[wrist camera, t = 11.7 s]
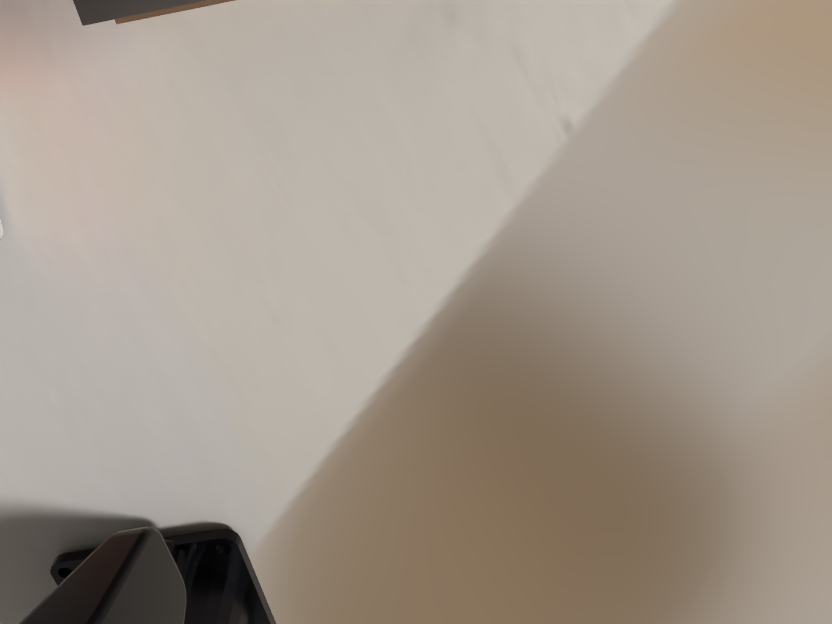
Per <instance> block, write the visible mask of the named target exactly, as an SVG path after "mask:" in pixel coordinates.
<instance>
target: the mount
mask: <svg viewBox="0 0 832 624" xmlns="http://www.w3.org/2000/svg"><path fill="white" fill-rule="evenodd" d="M73 1H74V4H75V6H76V9H77V12H78V14H79V17H80V20H81V22H82V25H88V24H93V23H98V22H103V21H108V20H113V19H115V22H116V24H120V23H125V22H130V21H135V20H140V19H145V18H150V17H155V16H160V15H165V14H170V13H175V12H179V11H184V10H189V9H194V8H199V7H204V6H209V5H214V4H219V3H224V2H229V1H234V0H73Z"/></svg>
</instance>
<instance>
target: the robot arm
mask: <svg viewBox="0 0 832 624" xmlns="http://www.w3.org/2000/svg"><path fill="white" fill-rule="evenodd" d="M223 544H227V545H223ZM50 572H51V575H52V577H53V578H54V580H55V582H56V583H57V585H58V587H56V588H55V589H54V590H53V591H52V592H51V593H50V594H49V595H48V596H47V597H46V598H45V599H44V600H43V601H42V602H41V603H40V604H39V605H38V606H37V607H36V608H35V609H34V610H33V611H32V612H31V613H30V614H29V615H28V616H27V617H26V618H25V619H24V620H23V621H21V622H20V623H19V624H276V622H275V620H274V617H273V615H272V613H271V610H270V608H269V605H268V603H267V601H266V598H265V596H264V593H263V591H262V588H261V586H260V583H259V581H258V579H257V576H256V574H255V571H254V569H253V567H252V564H251V562H250V559H249V557H248V554H247V552H246V550H245V547H244V545H243V542H242V540H241V538H240V536H239V535H238V534H237V533H236V532H234V531H232V530H228V529H220V530H214V531H207V532H201V533H194V534H188V535H181V536H175V537H168V538H163V537H162V535H161V533H160V532H159V531H158V530H157V529H155V528H154V527H142V528H135V529H129V530H122V531H118V532H115V533H113V534H112V535H111V536H109V537H108V538H107V539H106V540H105V541H104V542H103V543H102V544H101V545H100V546H99V547H98V548H97V549H90V550H84V551H77V552H71V553H64V554H61V555H59V556H58V557H57V558H56V559H55V561H54V563H53V565H52V567H51V570H50Z"/></svg>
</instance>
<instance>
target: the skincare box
mask: <svg viewBox="0 0 832 624" xmlns="http://www.w3.org/2000/svg"><path fill="white" fill-rule="evenodd" d="M2 236H3V228H2V224H1V220H0V239H1V237H2Z"/></svg>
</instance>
